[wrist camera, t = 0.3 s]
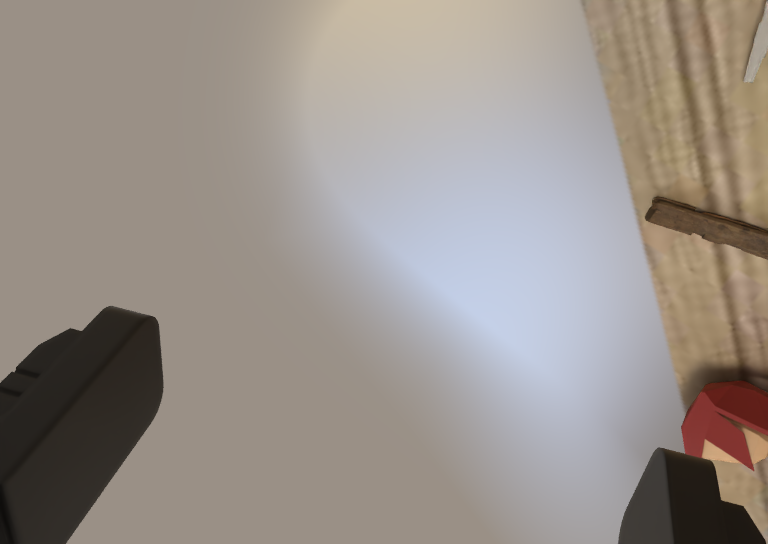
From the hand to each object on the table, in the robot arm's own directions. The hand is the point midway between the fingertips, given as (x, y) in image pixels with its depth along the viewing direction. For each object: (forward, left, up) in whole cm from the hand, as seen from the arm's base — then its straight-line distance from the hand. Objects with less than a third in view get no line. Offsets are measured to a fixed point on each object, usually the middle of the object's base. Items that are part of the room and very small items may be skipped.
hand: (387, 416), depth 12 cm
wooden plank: (+2, +18, -27) cm, 32 cm away
